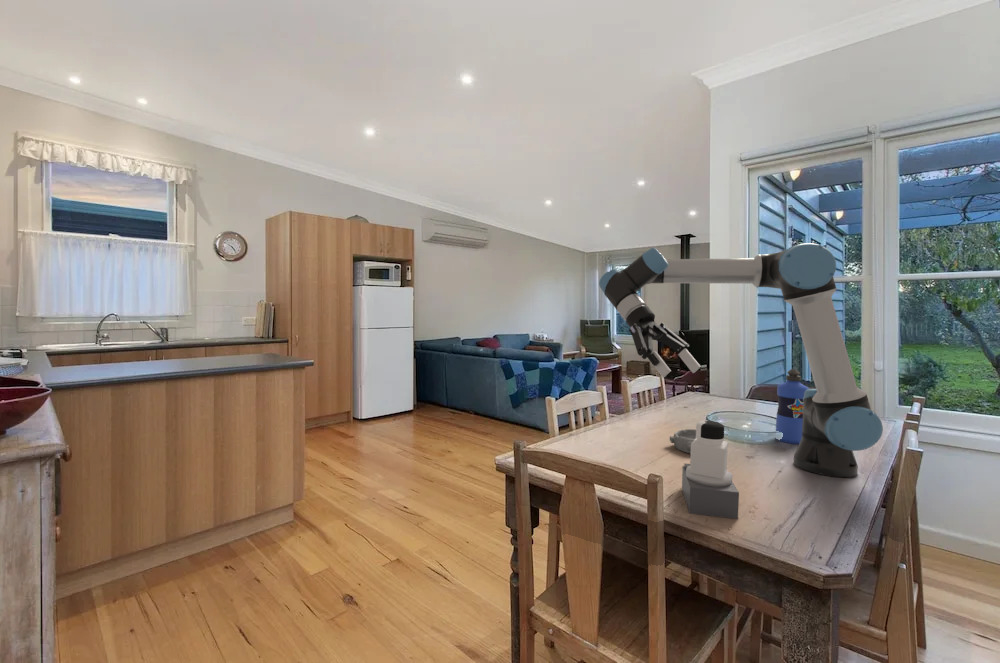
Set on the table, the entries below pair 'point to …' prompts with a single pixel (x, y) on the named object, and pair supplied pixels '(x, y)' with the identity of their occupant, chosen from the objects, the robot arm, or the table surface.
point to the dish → (683, 439)
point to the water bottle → (790, 408)
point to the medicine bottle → (709, 450)
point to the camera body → (710, 494)
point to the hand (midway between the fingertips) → (682, 372)
